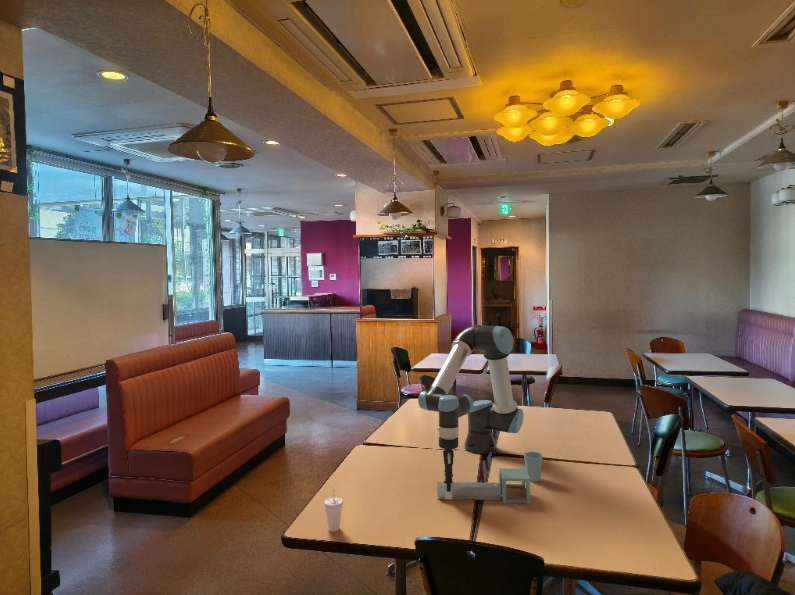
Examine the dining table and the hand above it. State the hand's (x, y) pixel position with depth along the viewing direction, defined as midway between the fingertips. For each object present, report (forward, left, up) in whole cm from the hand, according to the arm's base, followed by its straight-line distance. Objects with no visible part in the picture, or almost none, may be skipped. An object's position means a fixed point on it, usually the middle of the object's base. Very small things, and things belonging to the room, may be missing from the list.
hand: (448, 496), depth 201 cm
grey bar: (0, +8, 0) cm, 8 cm away
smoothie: (+26, -40, -1) cm, 48 cm away
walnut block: (0, +25, -1) cm, 25 cm away
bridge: (0, +25, 0) cm, 25 cm away
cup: (-18, +36, -1) cm, 40 cm away
